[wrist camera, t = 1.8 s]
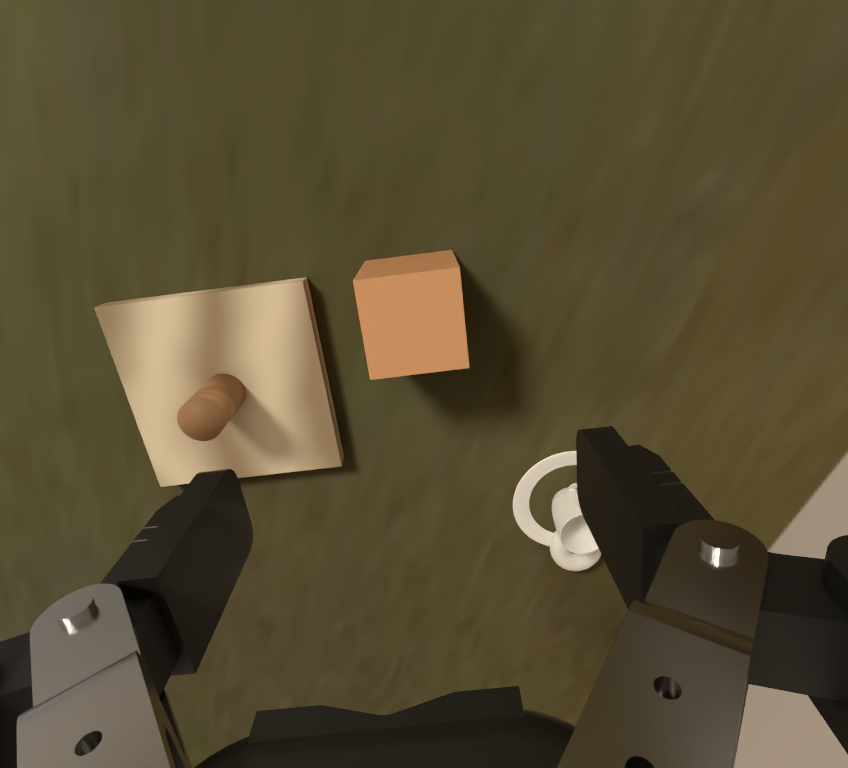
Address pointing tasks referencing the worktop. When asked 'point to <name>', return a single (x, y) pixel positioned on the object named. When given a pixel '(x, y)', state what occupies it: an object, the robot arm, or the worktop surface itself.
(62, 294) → the worktop surface
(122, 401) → the worktop surface
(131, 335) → the post base
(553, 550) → the white ring and cup
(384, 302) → the salmon cube
